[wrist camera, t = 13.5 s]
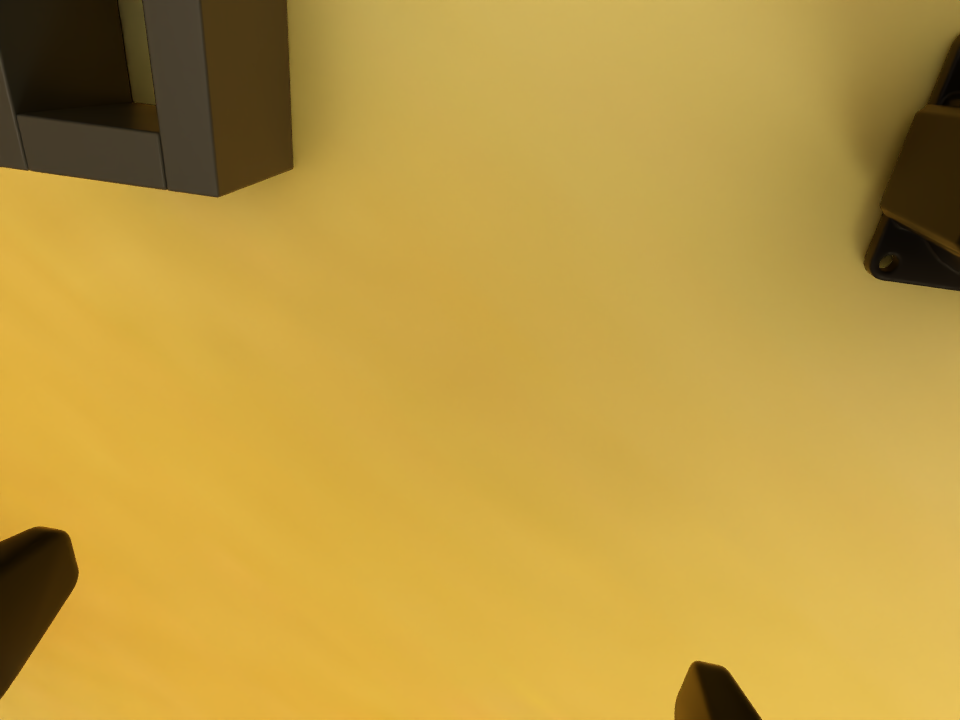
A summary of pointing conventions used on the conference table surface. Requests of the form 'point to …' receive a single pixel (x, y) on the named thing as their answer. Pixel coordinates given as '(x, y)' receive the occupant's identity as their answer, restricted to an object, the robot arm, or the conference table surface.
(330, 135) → the conference table surface
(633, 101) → the conference table surface
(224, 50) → the organiser
